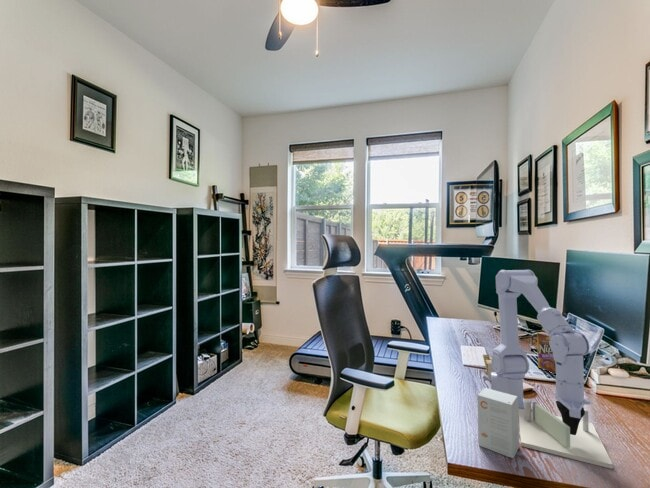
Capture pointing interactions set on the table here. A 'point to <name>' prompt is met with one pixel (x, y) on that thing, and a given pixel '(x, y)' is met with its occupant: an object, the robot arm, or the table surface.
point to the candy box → (545, 353)
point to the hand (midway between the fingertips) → (570, 433)
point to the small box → (498, 422)
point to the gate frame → (581, 444)
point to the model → (488, 365)
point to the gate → (552, 424)
